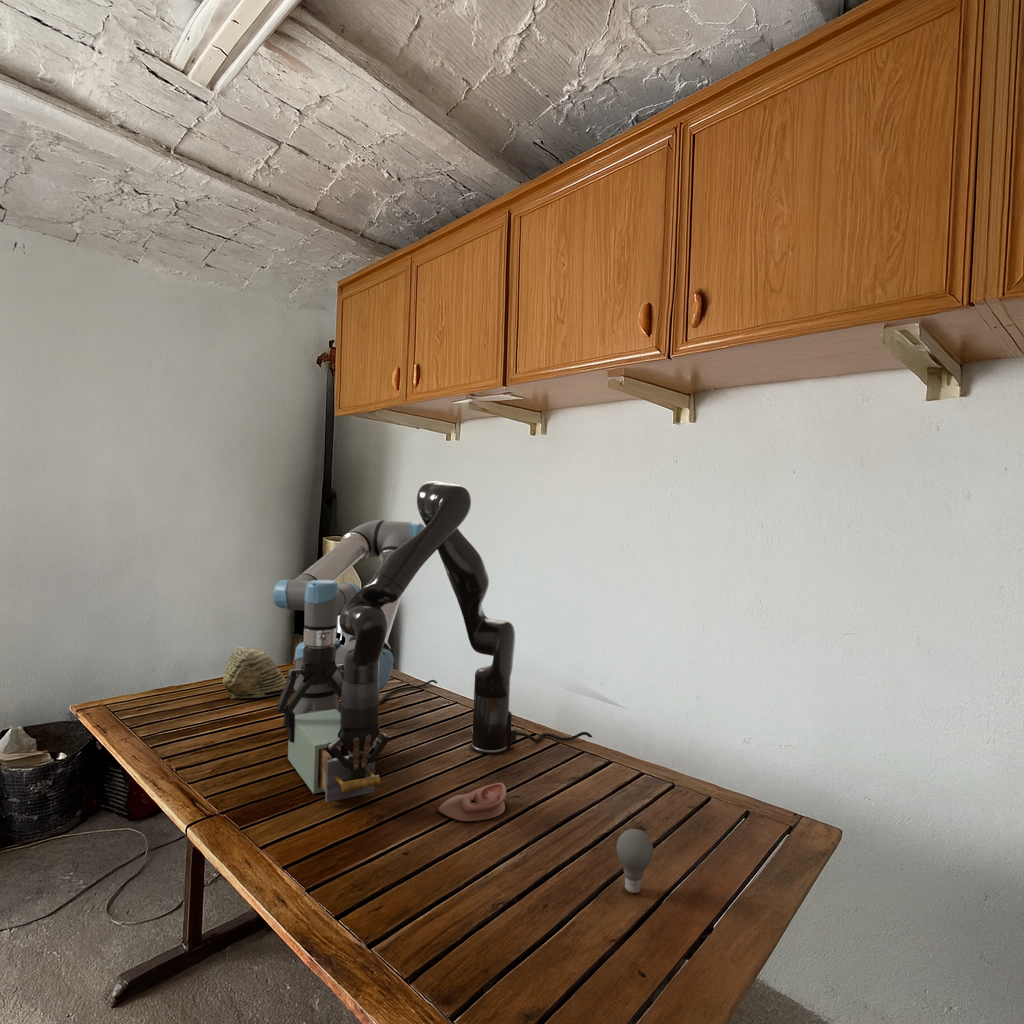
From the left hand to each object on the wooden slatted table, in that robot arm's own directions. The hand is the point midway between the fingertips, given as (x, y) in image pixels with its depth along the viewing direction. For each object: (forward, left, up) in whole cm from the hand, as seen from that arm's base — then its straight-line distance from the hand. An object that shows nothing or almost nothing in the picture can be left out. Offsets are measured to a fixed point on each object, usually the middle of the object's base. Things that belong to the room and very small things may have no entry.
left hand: (316, 735), depth 152 cm
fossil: (-15, -55, -6) cm, 57 cm away
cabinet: (+2, +7, -6) cm, 9 cm away
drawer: (+5, +17, -5) cm, 18 cm away
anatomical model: (-8, +44, -6) cm, 45 cm away
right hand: (+8, +26, -1) cm, 28 cm away
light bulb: (-6, +82, -6) cm, 82 cm away
